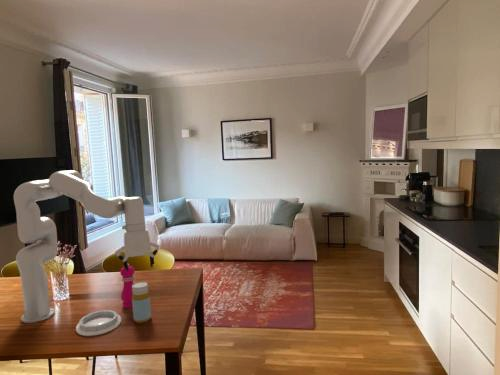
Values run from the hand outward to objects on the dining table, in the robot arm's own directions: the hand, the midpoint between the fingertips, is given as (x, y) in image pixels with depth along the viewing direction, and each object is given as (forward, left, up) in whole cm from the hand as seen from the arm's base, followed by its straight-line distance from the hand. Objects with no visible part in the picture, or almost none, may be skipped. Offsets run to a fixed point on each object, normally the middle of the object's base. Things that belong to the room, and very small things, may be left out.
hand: (139, 268), depth 145 cm
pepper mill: (-16, +8, -22) cm, 29 cm away
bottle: (0, 0, -22) cm, 22 cm away
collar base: (-13, -11, -22) cm, 28 cm away
